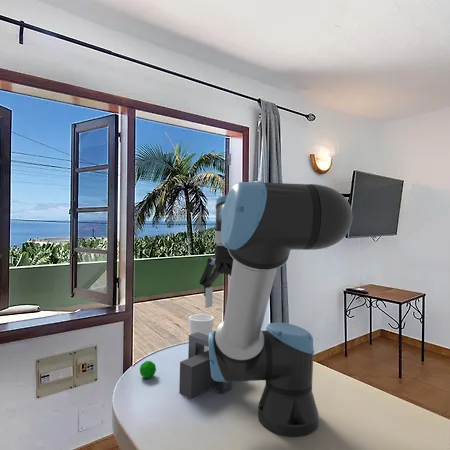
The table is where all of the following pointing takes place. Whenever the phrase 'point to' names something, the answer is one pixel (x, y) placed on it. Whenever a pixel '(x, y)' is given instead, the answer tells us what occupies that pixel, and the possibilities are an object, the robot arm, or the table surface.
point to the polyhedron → (147, 369)
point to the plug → (195, 375)
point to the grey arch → (197, 347)
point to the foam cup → (201, 325)
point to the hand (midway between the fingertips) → (224, 311)
